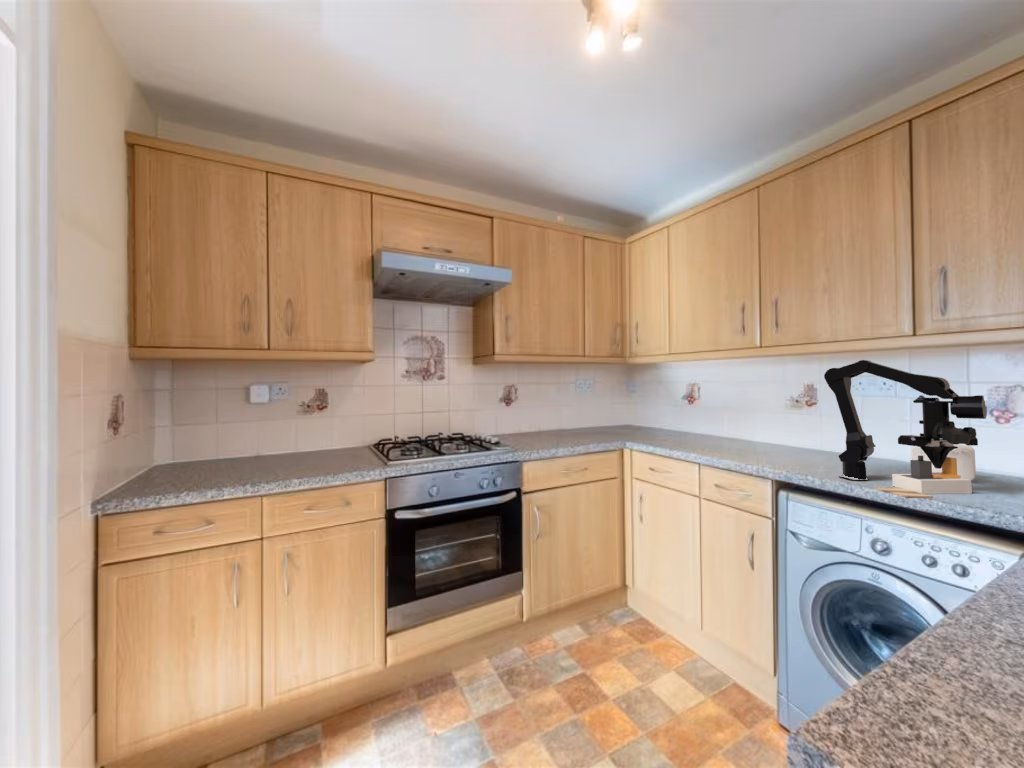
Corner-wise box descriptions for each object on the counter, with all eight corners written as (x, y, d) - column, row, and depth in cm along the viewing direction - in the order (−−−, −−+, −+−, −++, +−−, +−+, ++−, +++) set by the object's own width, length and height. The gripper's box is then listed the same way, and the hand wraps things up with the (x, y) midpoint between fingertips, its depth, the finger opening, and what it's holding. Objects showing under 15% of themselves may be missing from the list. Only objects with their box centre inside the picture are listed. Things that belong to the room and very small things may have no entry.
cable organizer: (980, 480, 140) (978, 445, 140) (974, 484, 134) (972, 448, 134) (918, 473, 152) (917, 441, 153) (911, 477, 146) (909, 444, 147)
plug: (901, 478, 131) (900, 454, 131) (924, 478, 130) (923, 454, 131) (918, 482, 125) (917, 457, 125) (943, 482, 124) (942, 457, 125)
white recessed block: (892, 486, 133) (892, 474, 133) (938, 486, 132) (938, 473, 132) (921, 494, 123) (921, 480, 123) (971, 493, 122) (971, 480, 122)
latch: (921, 475, 130) (920, 456, 130) (944, 474, 130) (943, 456, 130) (936, 478, 125) (935, 458, 125) (960, 478, 125) (959, 458, 125)
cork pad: (875, 489, 130) (875, 487, 130) (899, 489, 129) (899, 487, 129) (907, 497, 119) (906, 496, 119) (932, 497, 118) (932, 496, 118)
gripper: (928, 419, 120) (931, 473, 120) (997, 418, 119) (999, 473, 119) (895, 417, 131) (897, 466, 131) (957, 416, 130) (959, 466, 130)
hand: (938, 468), depth 127 cm, fingers closed
